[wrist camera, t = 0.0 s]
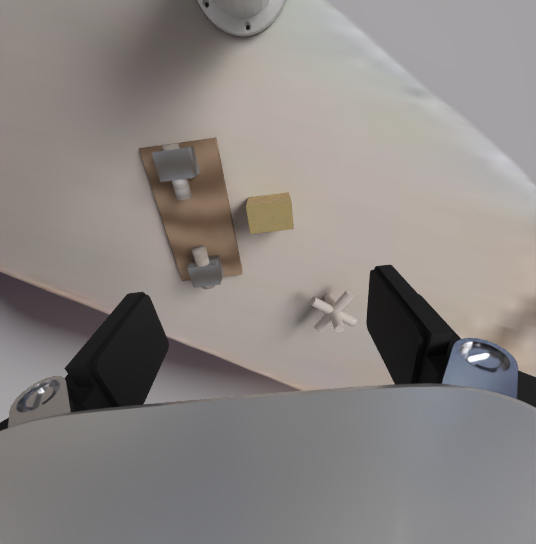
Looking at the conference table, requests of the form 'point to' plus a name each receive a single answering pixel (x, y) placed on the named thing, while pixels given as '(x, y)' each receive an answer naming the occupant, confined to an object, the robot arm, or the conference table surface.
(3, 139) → the conference table surface
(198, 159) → the shaft stand
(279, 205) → the block
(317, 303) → the pipe connector
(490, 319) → the conference table surface
